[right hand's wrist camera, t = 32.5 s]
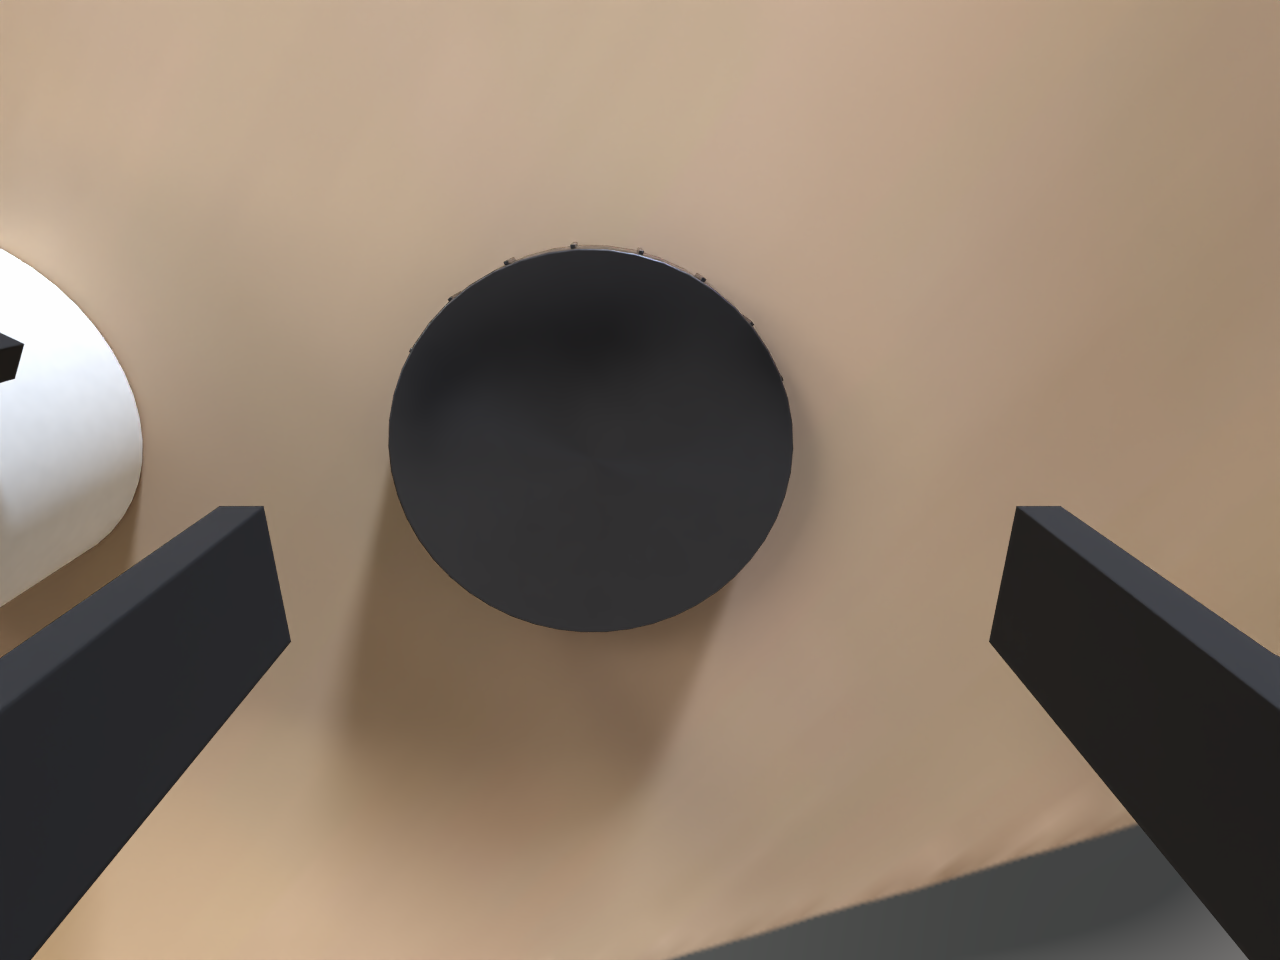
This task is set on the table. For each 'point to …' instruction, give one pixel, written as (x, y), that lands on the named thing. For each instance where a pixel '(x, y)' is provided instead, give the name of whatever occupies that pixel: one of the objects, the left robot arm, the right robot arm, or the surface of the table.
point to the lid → (590, 439)
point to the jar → (59, 433)
